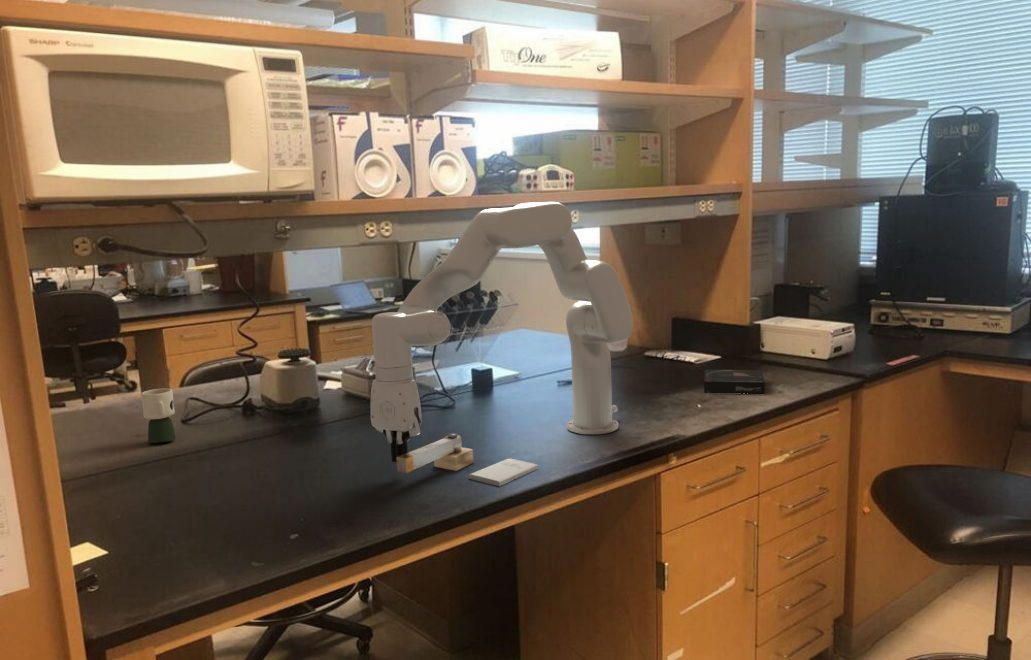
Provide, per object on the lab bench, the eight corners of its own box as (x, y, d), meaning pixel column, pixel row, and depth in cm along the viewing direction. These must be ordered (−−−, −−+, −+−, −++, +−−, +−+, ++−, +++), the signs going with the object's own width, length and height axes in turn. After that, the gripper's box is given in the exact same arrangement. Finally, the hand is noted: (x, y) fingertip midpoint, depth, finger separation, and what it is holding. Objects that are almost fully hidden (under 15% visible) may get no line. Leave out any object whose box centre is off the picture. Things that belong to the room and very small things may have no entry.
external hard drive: (469, 481, 156) (508, 464, 165) (499, 489, 151) (538, 471, 160) (468, 473, 155) (507, 457, 165) (499, 481, 150) (538, 463, 160)
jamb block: (452, 458, 169) (451, 445, 168) (473, 462, 165) (472, 449, 165) (434, 466, 164) (433, 452, 164) (456, 470, 161) (455, 457, 160)
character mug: (181, 444, 189) (176, 392, 187) (150, 449, 185) (144, 397, 183) (173, 434, 198) (168, 385, 196) (143, 439, 194) (137, 389, 192)
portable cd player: (760, 382, 231) (761, 369, 230) (764, 396, 214) (764, 382, 214) (704, 381, 235) (704, 369, 234) (704, 395, 218) (704, 381, 218)
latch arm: (452, 446, 167) (451, 431, 166) (465, 448, 165) (464, 433, 164) (395, 470, 152) (394, 453, 152) (408, 473, 150) (407, 456, 150)
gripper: (353, 374, 155) (359, 461, 158) (412, 380, 148) (417, 471, 151) (377, 367, 162) (383, 451, 165) (435, 372, 154) (440, 459, 157)
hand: (399, 460), depth 158 cm, fingers closed
